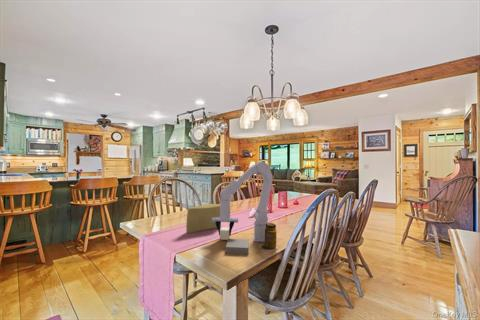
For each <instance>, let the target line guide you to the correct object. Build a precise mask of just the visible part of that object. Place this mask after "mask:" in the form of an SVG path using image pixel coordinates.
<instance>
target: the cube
mask: <svg viewBox="0 0 480 320" xmlns="http://www.w3.org/2000/svg"><path fill="white" fill-rule="evenodd" d="M229 230H230V228H229V227H222V226H221V229H220V235H219V240H226V241H228V239H231V236H229Z"/></svg>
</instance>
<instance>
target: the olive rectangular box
mask: <svg viewBox="0 0 480 320" xmlns="http://www.w3.org/2000/svg"><path fill="white" fill-rule="evenodd" d="M186 215H187V216H186V226H185V227H186V233H187V234H190V233H195V232H202V231H207V230H213V229H217V226H216V224H215V223H216V222H212V218H219V217H220V204H216V203H209V204H202V205H198V206H193V207H188V209H187V214H186Z"/></svg>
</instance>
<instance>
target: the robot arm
mask: <svg viewBox="0 0 480 320" xmlns="http://www.w3.org/2000/svg"><path fill="white" fill-rule="evenodd" d="M258 174H260V176H261V177H262V178H263V181H262V184H261V191H260V196H259V202H258V205H257V207H256V210H255V212H254V214H253V217H254V219H255V221H254V222H253V223H254V228H253V230H254V231H253V237H252V238H253V242H260V243H263V242H264V243H265V229H266V228H265V227H266V224H267V223H269V218H268V213H269V212H268V205H269V202H270V201H269V199H270V195H271V191H272V185H273V179H274V176H273V173H272V171H271V166H269V164H268V163H267V162H266V161H256V162H255V163H254V164H252V165H251V166H250V167H249V168H247V170H246V171H245V172H244V173H243V174H241V176H239V178H237V179H235V178H234V179H231V180H230V182H229V184H228V185H226V186H224V188H223V189H221V191H220V193H219V196H220V202H219V205H220V217H219V218H212V222H216V223H215V224H216V226H217V228H216V229H217V232H218V235H219V236H220V229H221V227H222V223H229V224H228V225H229V227H228V228H230V230H229V236H230V237H231V235H232V230H233V227H234V225H235V223H236V224H238V223H239V218H236V217H231V197H232V195H235V193H237V191H239V189H241V187H242V184H243V183H245V181H246V180H247V179H248V178H251V176H252V175H258Z"/></svg>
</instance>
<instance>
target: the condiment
mask: <svg viewBox="0 0 480 320" xmlns="http://www.w3.org/2000/svg"><path fill="white" fill-rule="evenodd" d="M265 228H266V229H265V242H264V244H263V245H261V246H259V247H258V248H259V249H261V250H263V251H266V252H269V253H272V252H273V251H275V250H277V249H279V248H280V246H278V245H277V225H276V224H275V223H273V222H267V224H266V227H265Z"/></svg>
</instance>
